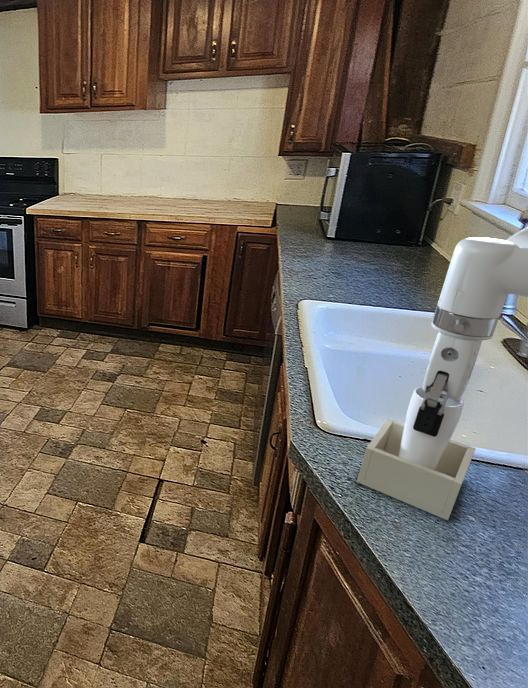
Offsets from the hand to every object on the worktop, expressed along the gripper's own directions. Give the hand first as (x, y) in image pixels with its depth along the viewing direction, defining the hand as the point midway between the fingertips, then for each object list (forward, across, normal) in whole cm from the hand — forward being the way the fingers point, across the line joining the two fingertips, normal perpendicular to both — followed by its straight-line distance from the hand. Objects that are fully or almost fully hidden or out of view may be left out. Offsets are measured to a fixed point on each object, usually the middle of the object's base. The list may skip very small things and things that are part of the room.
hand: (430, 422), depth 86 cm
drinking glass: (+10, 0, 0) cm, 10 cm away
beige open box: (+12, 0, 0) cm, 12 cm away
